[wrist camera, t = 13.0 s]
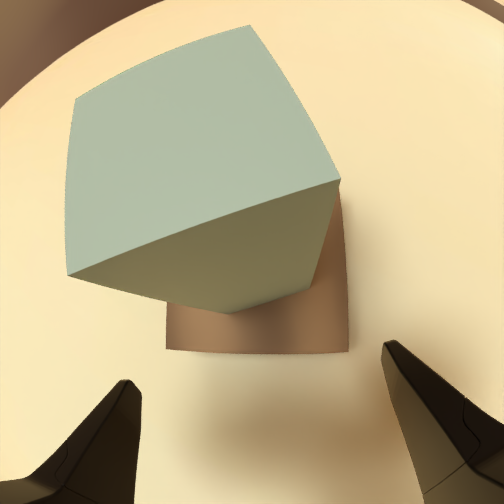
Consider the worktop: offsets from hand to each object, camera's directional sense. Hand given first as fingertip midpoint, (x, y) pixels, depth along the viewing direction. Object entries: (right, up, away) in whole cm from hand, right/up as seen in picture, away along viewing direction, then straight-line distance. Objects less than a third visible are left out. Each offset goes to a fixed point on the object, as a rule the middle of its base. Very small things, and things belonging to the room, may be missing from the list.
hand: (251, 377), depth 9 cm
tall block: (0, +4, +9) cm, 9 cm away
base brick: (+1, +3, +12) cm, 13 cm away
